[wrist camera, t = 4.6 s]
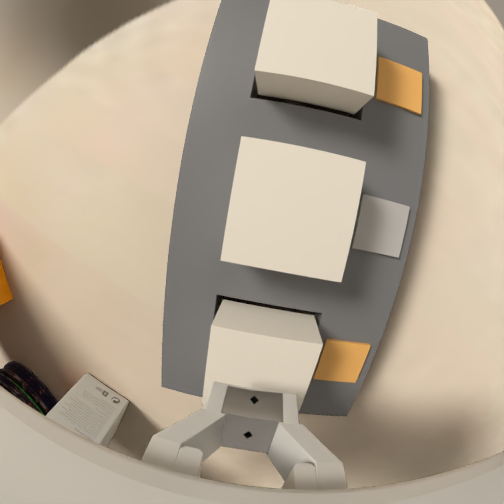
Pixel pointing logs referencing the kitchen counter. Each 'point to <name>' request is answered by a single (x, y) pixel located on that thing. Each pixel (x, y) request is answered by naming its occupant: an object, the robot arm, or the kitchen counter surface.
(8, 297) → the orange juice
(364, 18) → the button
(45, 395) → the dark blue cylinder
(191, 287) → the button panel
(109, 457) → the robot arm
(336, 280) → the middle button
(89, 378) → the skincare box
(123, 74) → the kitchen counter surface
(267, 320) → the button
